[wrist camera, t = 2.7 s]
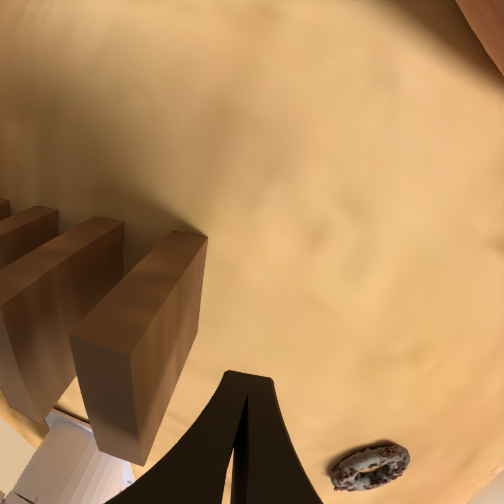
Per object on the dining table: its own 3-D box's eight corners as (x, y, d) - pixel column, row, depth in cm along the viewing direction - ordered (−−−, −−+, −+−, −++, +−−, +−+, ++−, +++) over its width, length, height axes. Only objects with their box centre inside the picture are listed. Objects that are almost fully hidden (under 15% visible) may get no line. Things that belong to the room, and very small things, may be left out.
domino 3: (208, 237, 14) (130, 355, 6) (197, 332, 15) (143, 466, 8) (172, 230, 14) (68, 334, 6) (166, 325, 15) (98, 450, 8)
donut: (429, 451, 19) (435, 470, 17) (352, 489, 22) (354, 507, 20) (386, 416, 17) (393, 439, 15) (294, 461, 20) (294, 483, 18)
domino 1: (57, 209, 14) (-65, 272, 6) (63, 296, 16) (-28, 382, 8) (36, 205, 14) (-82, 262, 6) (43, 289, 16) (-47, 367, 8)
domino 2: (123, 221, 14) (0, 306, 6) (124, 314, 15) (41, 424, 8) (95, 216, 14) (-31, 290, 6) (98, 307, 16) (9, 406, 8)
